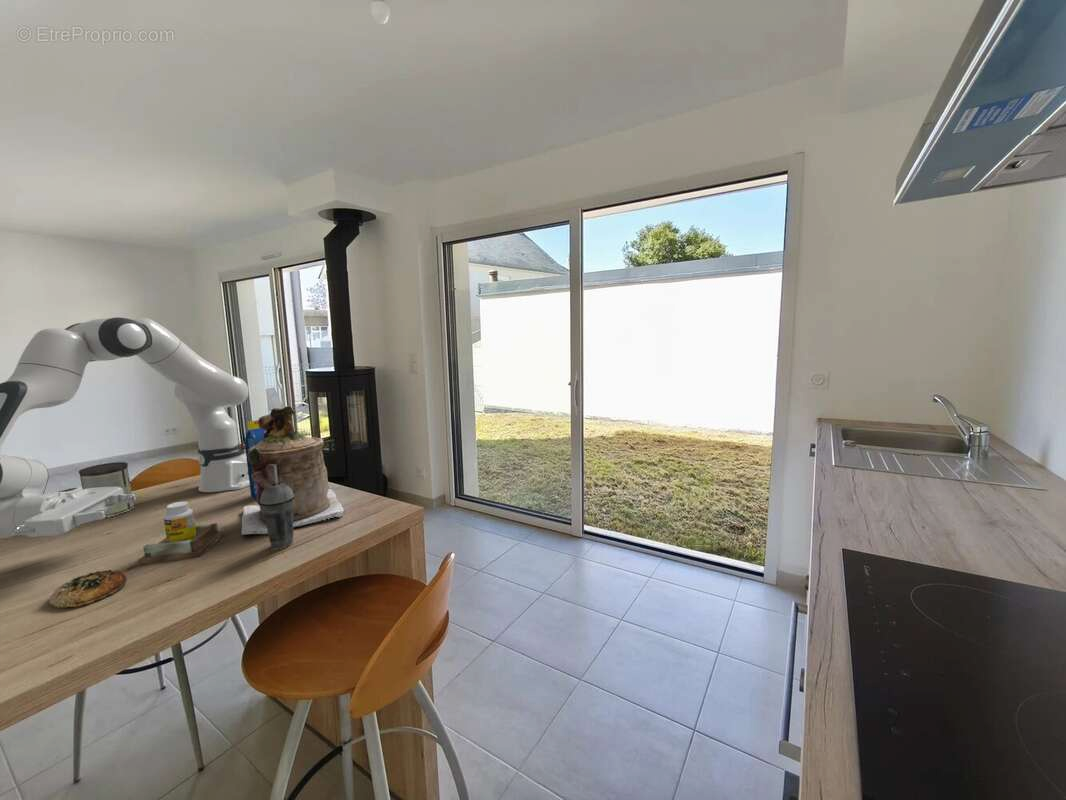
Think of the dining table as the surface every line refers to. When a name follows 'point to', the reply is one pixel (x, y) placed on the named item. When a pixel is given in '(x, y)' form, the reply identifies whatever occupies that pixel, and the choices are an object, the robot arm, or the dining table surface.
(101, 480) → the coffee can
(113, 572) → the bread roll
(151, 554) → the clip cradle
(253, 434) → the blue food package
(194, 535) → the supplement bottle
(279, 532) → the beverage cup
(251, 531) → the cookie jar
